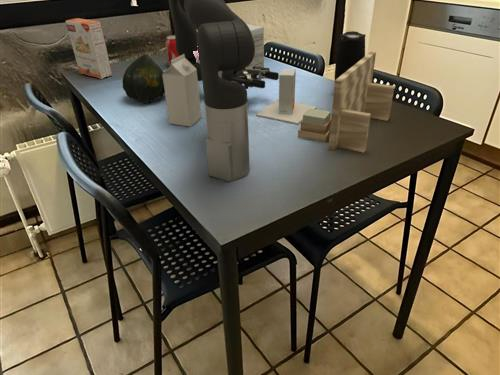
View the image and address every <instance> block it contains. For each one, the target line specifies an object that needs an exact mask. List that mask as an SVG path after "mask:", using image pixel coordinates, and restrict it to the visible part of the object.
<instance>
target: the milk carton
mask: <svg viewBox="0 0 500 375" xmlns="http://www.w3.org/2000/svg"><path fill="white" fill-rule="evenodd" d="M163 72H164V73H163V74H162V75H163V82H164V89H165V94H164V95H165V100H166V107H167V114H168V120H169V124H171V125H175V126H176V125H177V126H184V127H192V126H193V125H194V124H196V123H197V122H198V121H199V120H200V119H202V109H201V100H200V90H199V81H198V78H197V69H196V68H195V67H194V66H193V65H192V64H191V63H190V62H189V61H188V60H187V59H186V58H185V54H183V55H181V56H179V57H177V58H175V59H173V60H171V66H168V67H167V69H166V70H164V71H163Z"/></svg>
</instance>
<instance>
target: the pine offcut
mask: <svg viewBox="0 0 500 375" xmlns="http://www.w3.org/2000/svg"><path fill="white" fill-rule="evenodd" d="M330 129H331V128H330ZM297 137H298V138H301V139H307V140H312V141H316V142H321V143H324V144H325V143H327V141H328V140H330V130H329V131H328V132H327V133H326V135H323V134H317V133H312V132H307V131H302V130H300V128H299V129H298V130H297Z"/></svg>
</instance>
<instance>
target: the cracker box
mask: <svg viewBox="0 0 500 375" xmlns="http://www.w3.org/2000/svg"><path fill="white" fill-rule="evenodd" d="M65 24H66V28H67V32H68V35H69V39H70V43H71V47H72V49H73V50H72V51H73V53H74V57H75V58H74V59H75V61H76V66H77V69H78V72H79V74H80V73H82V74H86V75H89V76H93V77H97V78H104V77H106V76H109V75H112V76H113V72H112V69H111V63H110V59H109V55H108V50H107V44H106V41H105V37H104V32H103V27H102V23H101V21H98V20H91V19H85V18H79V17H77V18H71V19H66V20H65ZM82 74H81V75H82ZM89 76H88V77H89ZM93 77H92V78H93ZM97 78H96V79H97Z"/></svg>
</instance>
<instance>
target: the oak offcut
mask: <svg viewBox="0 0 500 375" xmlns="http://www.w3.org/2000/svg"><path fill="white" fill-rule="evenodd" d="M331 118H332V117H330V119H329V120H328V122H327V123H326V124H325V125H324V126H323V125H317V124H312V123H306V122H303V120H302V121H301V122H300V128H299V129H300V130H302V131H307V132H312V133H317V134H323V135H326V133H327V132H328V131H329V130H330V128H331Z"/></svg>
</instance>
